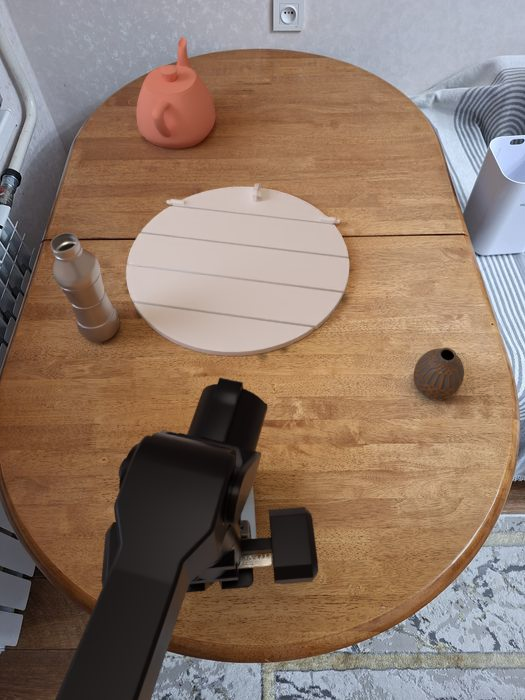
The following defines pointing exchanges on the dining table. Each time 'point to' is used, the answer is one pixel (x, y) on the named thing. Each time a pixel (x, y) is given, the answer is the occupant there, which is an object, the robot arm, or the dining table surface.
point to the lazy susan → (237, 270)
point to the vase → (439, 373)
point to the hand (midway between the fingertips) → (218, 572)
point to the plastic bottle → (84, 288)
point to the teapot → (175, 105)
